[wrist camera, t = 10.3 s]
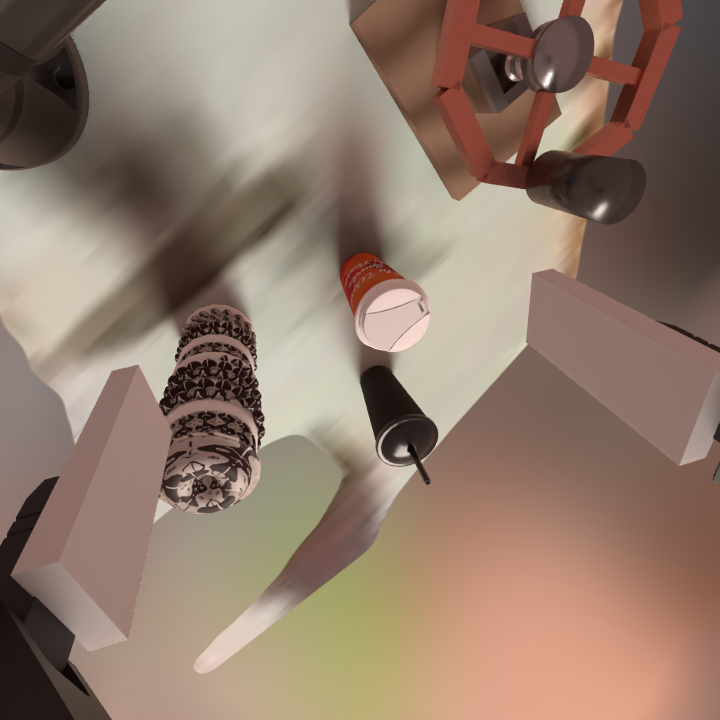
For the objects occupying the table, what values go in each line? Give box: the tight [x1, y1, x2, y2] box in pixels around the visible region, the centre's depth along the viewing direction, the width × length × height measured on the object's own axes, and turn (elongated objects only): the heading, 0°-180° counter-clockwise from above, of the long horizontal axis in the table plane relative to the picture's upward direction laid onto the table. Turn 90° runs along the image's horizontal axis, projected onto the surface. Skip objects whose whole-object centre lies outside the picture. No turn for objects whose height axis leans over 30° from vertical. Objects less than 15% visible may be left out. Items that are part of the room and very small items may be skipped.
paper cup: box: [340, 253, 430, 352], centre depth 46 cm, size 8×8×14 cm
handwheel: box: [430, 0, 683, 224], centre depth 29 cm, size 18×18×15 cm
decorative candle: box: [158, 304, 265, 514], centre depth 41 cm, size 9×9×25 cm
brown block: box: [350, 0, 562, 201], centre depth 39 cm, size 20×14×10 cm
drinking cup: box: [360, 366, 438, 485], centre depth 52 cm, size 8×8×20 cm
